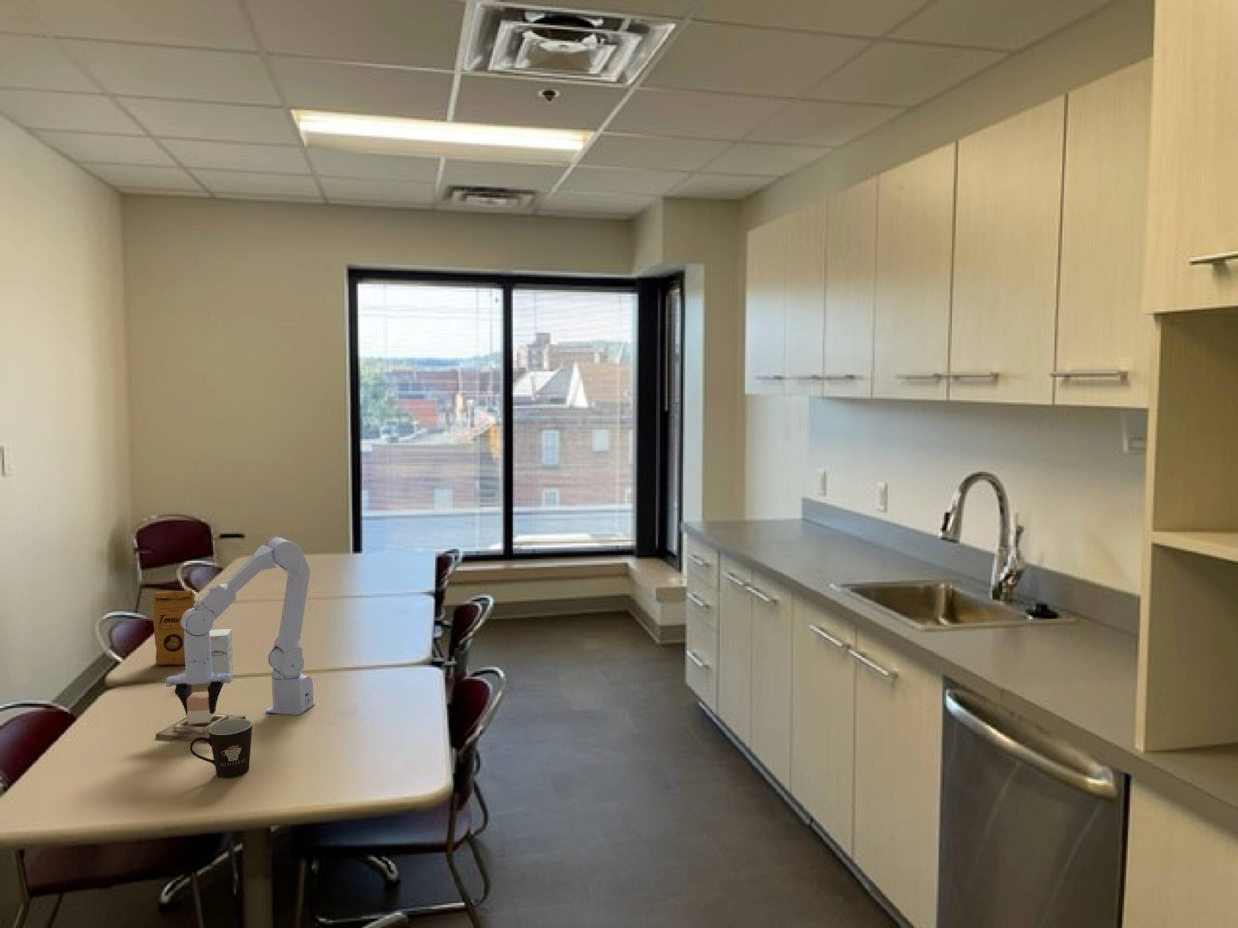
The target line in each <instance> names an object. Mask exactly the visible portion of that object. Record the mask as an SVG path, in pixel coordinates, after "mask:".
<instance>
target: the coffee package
mask: <svg viewBox="0 0 1238 928" xmlns="http://www.w3.org/2000/svg"><path fill="white" fill-rule="evenodd" d="M153 597H154V606H153V610H154V611H153V618H152V619H153V620H152V621H153V629H154V633H153V634H154V641H155V642H154V644H155V645H154V646H155V647H156V650H155V666H175V665H177V666H184V665H185V650H184V640H185V639H184V630H185V629H184V628H182V626H181V624H180V620H181V618H182V615H183V614H184V613H185V611H187V610H188V609H192V608H195V607H194V606H193V605H194V604H195V603H196V600H195V596H194V592H193V590H181V591H157V592H156V591H155V592H154V596H153Z"/></svg>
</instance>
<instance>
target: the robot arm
mask: <svg viewBox="0 0 1238 928" xmlns="http://www.w3.org/2000/svg"><path fill="white" fill-rule="evenodd" d="M277 566H279V567H280V568H281V570H282V571H284V573H285V574H286V575H287V577H286V586H285V592H284V600H283V604H282V611H281V617H280V618H281V619H280V622H279V623H280V624H279V629H278V630H279V631H278V636H277V637H276V638H275V640H274V641H273V646H272V649H271V650H270V652H269V654H268V656H267V660H268V661H267V663H268V664H269V666H270V667H271V668H272V672H271V691H272V692H271V695H272V696H271V697H272V706H271V707H269V708H267V709H265V713H269V714H270V713H271V714H280V715H281V714H283V715H293V716H294V715H296V716H298V715H301V714H302V713H304V712H305V711H307V710H308V709H310V708H312V706H314V705H316V702H315V701H314V683H313V679H312V677H311V676H309V675H305V674H303V673H302V671H303V670H304V667H305V659H304V657H303V645H302V644H303V643H302V642H301V636H302V635H301V633H302V627H303V623H304V622H303V621H304V613H305V609H306V608H305V607H306V602H307V601H306V600H307V594H308V588H309V587H308V586H309V581H310V574H311V569H310V566H309V564H308V562H307V560H306V557H305V555H304V550H303V549H302V548H301V547H300V546H299V545H298V544H297V543H296V542H293V541H290V540H287V539H285V538H284V537H280V536H274V537H270V538H269V539H268V540H267V541H265V543H264V544H262V545H261V546H259V547H258V548H257V550H256V551H255V552H254V553H253V555H251V557H250V558H248V560H247V561H246V562H245V563H244V564H243V565H242V566H241V567H240V568H239V569H238V570H237V571H236V573H234V574H233V576H232V577H230V579H228V581H227V582H225V583H219V584H218V583H217V584H216V585H215V586H212V585H211V586H210V588H208V591H209V592H208V593H207V594H206V595H205V596H204V597H203V598H202V599H200V600H199V602H198V603H197V602H195V604H194V605H193V606H194V607H195V608H192V609H188V610H187V611H185V613H184V614H183V615H182V618H181V620H180V624H181V626H182V628H184V629H185V630H184V639H185V640H184V650H185V674H179V675H173V676H172V675H171V676H168V677H167V678H165V687H166V688H170V687H175V689H174V693H175V695H176V696H177V697H178V699H179V700H180V702H181V704H182V706H183V709H184V711H185V716H187V698H188V697H189V696H190V695H191V694H192V686H193V685H207V684H208V686H207V692H208V694H209V700H210V714H214V712H215V713H216V710H217V703H218V699H219V696H220V693H221V691H222V688H223V685H224V684H231V683H232V682H233V672H232V673H213V672H212V660H211V640H210V630H212V629H213V626H214V621H216V620H217V619H218V618H219V617H220V616H221V615H222V614H223V613H224V612H225V611H226V610H227V609H228V608H230V606H231V605H232V604H233V603H234V602H235V601H236V598H237V593H238V591H240V590H241V589H242V588H244V587H245V586H246V585H247V584H248V583H249V582H250V581H252V579H254V578H255V577H256V576H257V575H258V574H259V573H260V572H262V571H263V570H271V569H276V568H277Z"/></svg>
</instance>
